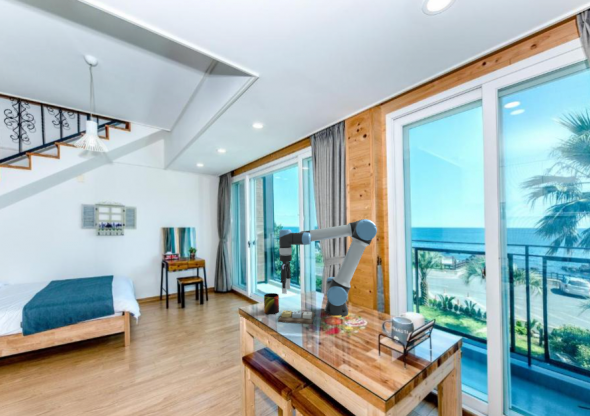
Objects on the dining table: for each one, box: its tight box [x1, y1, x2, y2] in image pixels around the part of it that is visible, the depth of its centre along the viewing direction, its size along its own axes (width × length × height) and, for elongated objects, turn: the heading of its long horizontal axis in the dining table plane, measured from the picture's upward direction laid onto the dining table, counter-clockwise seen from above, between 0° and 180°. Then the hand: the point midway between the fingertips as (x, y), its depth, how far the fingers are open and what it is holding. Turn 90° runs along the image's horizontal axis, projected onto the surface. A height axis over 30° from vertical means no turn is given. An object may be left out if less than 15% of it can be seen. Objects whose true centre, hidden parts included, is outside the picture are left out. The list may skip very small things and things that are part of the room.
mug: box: [263, 292, 280, 316], centre depth 175 cm, size 10×14×12 cm
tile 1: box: [281, 309, 293, 318], centre depth 162 cm, size 5×5×4 cm
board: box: [277, 311, 316, 325], centre depth 161 cm, size 20×14×2 cm
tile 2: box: [303, 311, 313, 319], centre depth 160 cm, size 5×5×4 cm
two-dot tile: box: [292, 310, 303, 318], centre depth 161 cm, size 5×5×4 cm
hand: (286, 291), depth 163 cm, fingers open, 9 cm apart
